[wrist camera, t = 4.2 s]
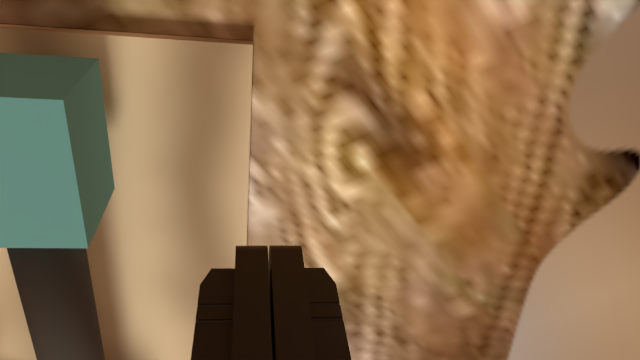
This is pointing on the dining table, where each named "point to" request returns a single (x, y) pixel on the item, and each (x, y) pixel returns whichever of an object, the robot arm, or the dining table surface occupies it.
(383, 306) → the dining table surface
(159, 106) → the board
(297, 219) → the dining table surface
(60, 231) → the cable arm
